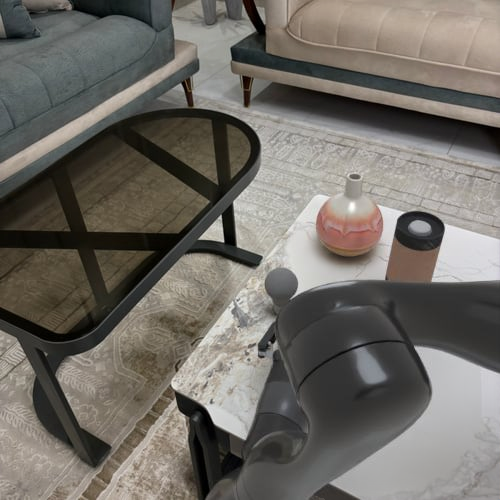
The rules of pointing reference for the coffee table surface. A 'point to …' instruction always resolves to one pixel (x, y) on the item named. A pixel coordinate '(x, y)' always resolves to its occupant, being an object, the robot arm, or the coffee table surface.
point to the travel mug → (415, 247)
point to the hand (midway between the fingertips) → (316, 314)
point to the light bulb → (281, 286)
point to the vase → (350, 220)
